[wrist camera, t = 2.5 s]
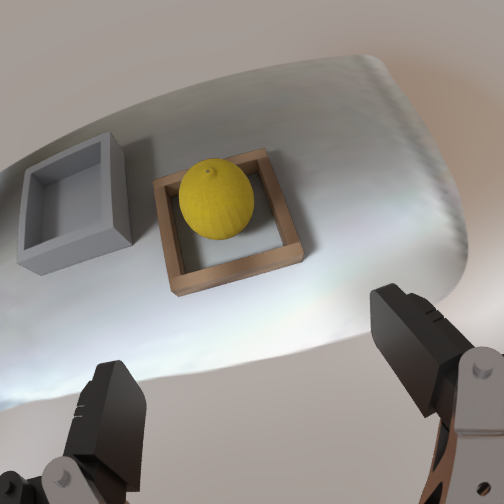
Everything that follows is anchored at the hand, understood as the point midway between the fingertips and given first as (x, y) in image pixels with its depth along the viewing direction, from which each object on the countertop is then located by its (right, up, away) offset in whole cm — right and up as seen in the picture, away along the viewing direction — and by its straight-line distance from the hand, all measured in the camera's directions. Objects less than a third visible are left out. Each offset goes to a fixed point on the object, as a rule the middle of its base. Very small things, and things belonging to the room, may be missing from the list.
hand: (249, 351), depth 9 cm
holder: (-17, +7, +19) cm, 27 cm away
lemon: (-2, +5, +18) cm, 19 cm away
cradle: (-2, +5, +18) cm, 19 cm away
